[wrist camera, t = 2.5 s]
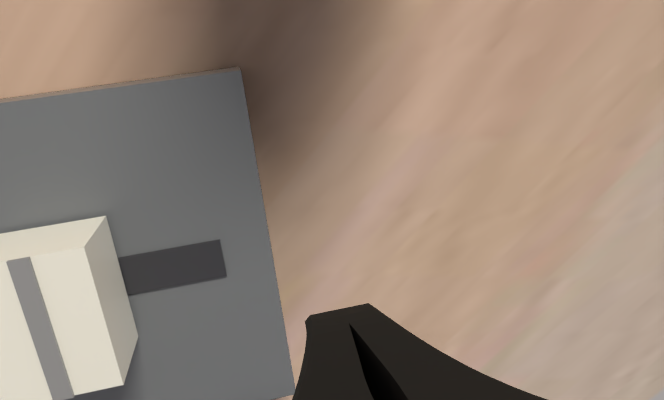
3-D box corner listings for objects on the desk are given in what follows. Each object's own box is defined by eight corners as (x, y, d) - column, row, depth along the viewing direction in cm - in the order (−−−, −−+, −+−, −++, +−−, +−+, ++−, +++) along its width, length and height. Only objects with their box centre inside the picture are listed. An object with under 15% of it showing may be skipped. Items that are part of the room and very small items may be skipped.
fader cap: (138, 336, 17) (122, 386, 14) (36, 356, 16) (2, 413, 14) (106, 215, 15) (82, 248, 13) (-6, 234, 15) (-51, 272, 12)
